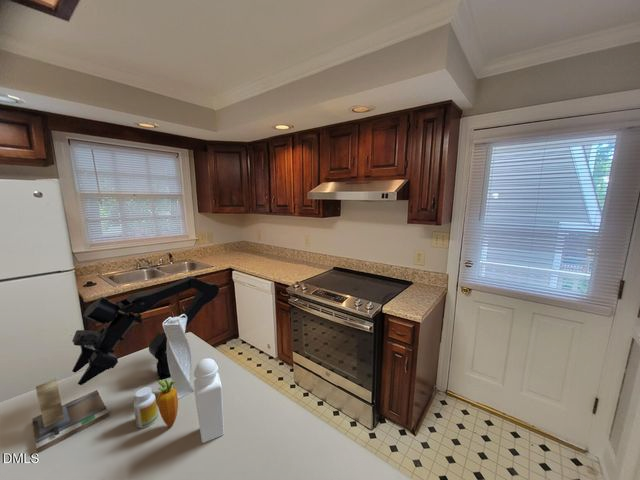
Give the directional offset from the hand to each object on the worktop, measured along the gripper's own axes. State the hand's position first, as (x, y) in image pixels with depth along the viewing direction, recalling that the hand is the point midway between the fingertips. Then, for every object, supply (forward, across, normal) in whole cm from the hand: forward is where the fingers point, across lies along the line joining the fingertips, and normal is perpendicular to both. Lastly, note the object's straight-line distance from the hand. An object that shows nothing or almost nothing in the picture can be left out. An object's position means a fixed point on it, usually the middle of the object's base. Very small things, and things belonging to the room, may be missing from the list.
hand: (76, 378), depth 79 cm
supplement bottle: (0, +19, +17) cm, 25 cm away
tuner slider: (+12, +2, +3) cm, 12 cm away
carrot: (-2, +26, +20) cm, 33 cm away
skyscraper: (-8, +14, +26) cm, 31 cm away
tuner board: (+11, 0, +6) cm, 13 cm away
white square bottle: (-7, +37, +24) cm, 45 cm away
